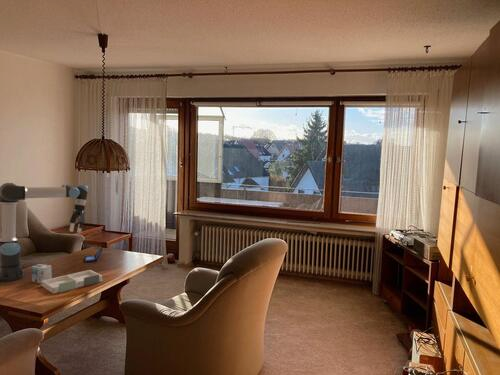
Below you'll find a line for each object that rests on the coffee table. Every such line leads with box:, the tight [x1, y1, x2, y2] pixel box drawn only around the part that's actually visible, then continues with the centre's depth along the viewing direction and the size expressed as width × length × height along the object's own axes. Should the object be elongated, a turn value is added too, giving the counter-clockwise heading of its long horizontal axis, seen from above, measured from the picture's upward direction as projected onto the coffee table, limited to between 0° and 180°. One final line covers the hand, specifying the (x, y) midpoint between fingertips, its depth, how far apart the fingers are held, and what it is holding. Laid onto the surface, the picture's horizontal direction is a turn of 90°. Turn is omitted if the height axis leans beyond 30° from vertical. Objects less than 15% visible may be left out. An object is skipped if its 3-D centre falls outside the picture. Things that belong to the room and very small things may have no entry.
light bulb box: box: [31, 263, 53, 284], centre depth 264 cm, size 11×7×11 cm, turn 73°
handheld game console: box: [84, 246, 103, 264], centre depth 316 cm, size 16×13×9 cm
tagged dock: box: [40, 269, 104, 294], centre depth 261 cm, size 33×20×6 cm, turn 138°
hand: (74, 232), depth 301 cm, fingers open, 13 cm apart
